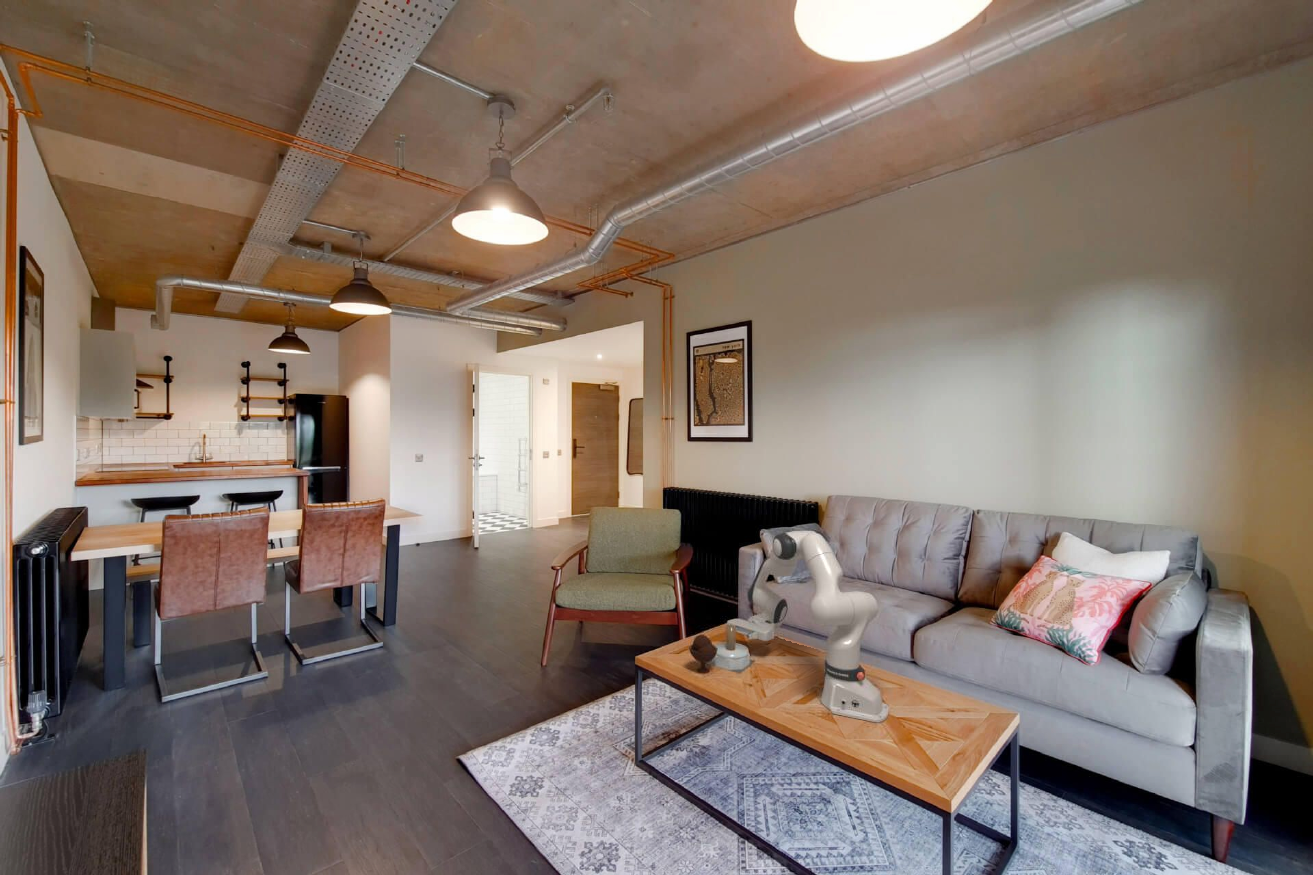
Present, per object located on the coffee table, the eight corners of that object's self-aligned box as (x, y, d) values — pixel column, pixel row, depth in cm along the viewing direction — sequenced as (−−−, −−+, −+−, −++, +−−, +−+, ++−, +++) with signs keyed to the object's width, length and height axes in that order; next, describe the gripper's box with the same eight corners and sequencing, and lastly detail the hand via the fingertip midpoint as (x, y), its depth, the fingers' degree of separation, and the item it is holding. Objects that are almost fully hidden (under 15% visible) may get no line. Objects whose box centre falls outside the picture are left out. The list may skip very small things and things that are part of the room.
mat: (755, 661, 232) (755, 660, 232) (740, 674, 220) (740, 673, 220) (721, 652, 241) (721, 651, 241) (704, 664, 228) (704, 663, 228)
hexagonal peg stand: (754, 660, 232) (754, 625, 232) (738, 672, 220) (739, 636, 220) (722, 652, 240) (723, 618, 240) (705, 663, 228) (706, 628, 228)
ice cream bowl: (718, 678, 216) (719, 639, 216) (689, 677, 216) (690, 638, 216) (715, 666, 227) (716, 629, 226) (688, 666, 227) (689, 629, 227)
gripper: (737, 613, 251) (718, 620, 241) (777, 624, 237) (759, 632, 227) (737, 627, 251) (718, 634, 241) (777, 639, 237) (759, 648, 227)
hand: (738, 633), depth 234 cm, fingers open, 8 cm apart
